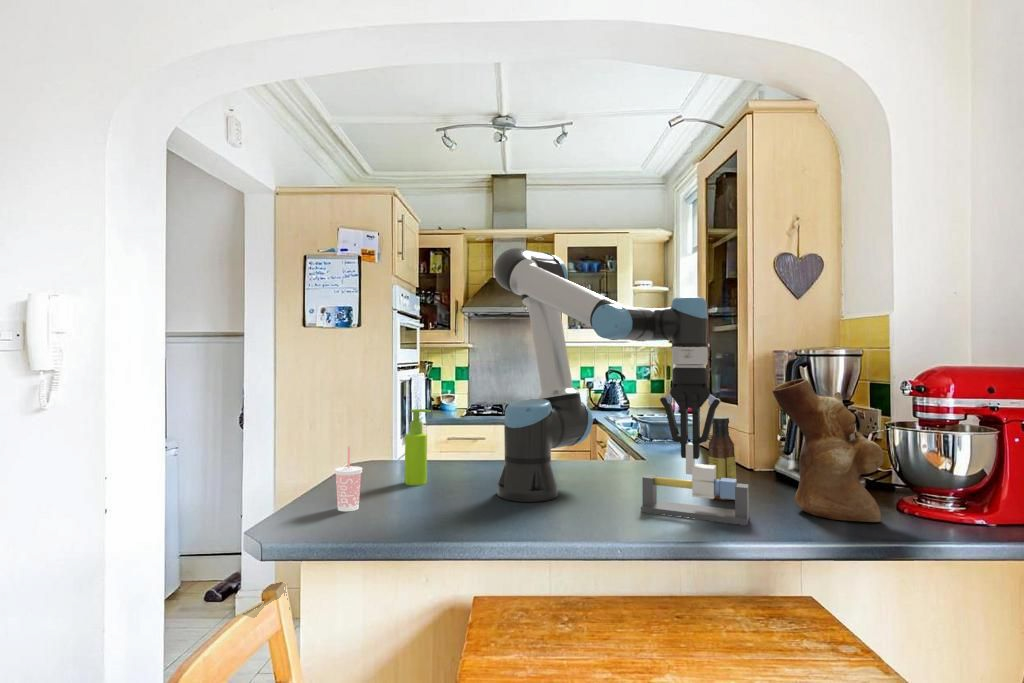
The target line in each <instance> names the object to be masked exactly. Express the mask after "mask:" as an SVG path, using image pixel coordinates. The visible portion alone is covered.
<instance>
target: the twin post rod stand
mask: <svg viewBox="0 0 1024 683" xmlns="http://www.w3.org/2000/svg"><path fill="white" fill-rule="evenodd" d="M641 482H642V483H641V484H642V489H641V490H642V504H641V506H640V513H644V512H647V513H646V514H652V513H656V514H655V515H659V514H665V515H664V516H667V515H672V516H671V517H675V516H681V517H680V518H683V517H689V518H688V519H690V518H695V519H694V520H698V519H701V520H700V521H706V520H709V521H708V522H714V521H717V522H716V523H722V522H724V523H723V524H729V523H731V524H732V525H737V524H740V525H739V526H745V525H747V526H748V523H749V519H750V509H749V507H750V506H749V504H750V503H749V498H750V496H749V495H750V494H749V492H750V490H749V489H750V487H749V484H748V483H747V484H746V483H738V482H737V478H736V479H730V478H721V480H720V479H715V483H714V494H715V495H718V496H720V498H725V499H734V502H735V503H734V509H731V508H723V507H715V506H706V505H705V506H704V505H697V504H689V503H680V502H674V501H673V502H670V501H665V500H664V501H663V500H657V498H658V497H657V495H658V494H657V492H658V490H657V488H658V487H657V486H662V487H663V486H664V487H671V488H679V489H690V490H692V479H691V480H690V479H689V480H688V479H682V478H681V479H680V478H669V477H661V476H659V477H658V476H657V475H656V474H655V475H654V474H647V473H646V474H645V475H643V476H642V481H641Z"/></svg>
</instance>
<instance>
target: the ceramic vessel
mask: <svg viewBox="0 0 1024 683" xmlns="http://www.w3.org/2000/svg"><path fill="white" fill-rule="evenodd" d="M771 391H772V393H773V396H774V397H775V400H776V402H777V403H778V406H779V407H780V408H781V410H782V411H783V412H784V413H785V414H786V416H787V417H789V419H790V420H791V421H792V422H793V423H794V424H795V425H796V426H797V428H799V430H800V431H801V433H802V434H803V437H804V442H803V445H802V448H801V451H800V452H801V453H800V455H799V457H798V460H799V465H798V466H799V467H798V470H799V471H798V472H799V482H798V488H797V490H796V493H795V495H794V502H795V503H796V504H797V505H798V506H799V507H800V509H801V510H802V511H804V512H805V513H807V514H810V515H812V516H816V517H819V518H825V519H829V520H836V521H838V520H839V521H847V522H848V521H849V522H866V523H870V522H871V523H879V522H881V521H882V514H881V510H880V507H879V504H878V503H877V501H876V499H875V498H874V497H873V496H872V494H871V493H870V492H869V491H868V489H866V488H865V486H864V485H863V483H862V482H861V479H860V477H861V475H866V474H870V473H874V472H876V471H877V470H878V469H879V468H880V467H881V466H882V465H883V463H884V461H885V453H884V450H883V449H882V447H881V445H879V444H878V443H876V442H875V441H872V440H870V439H868V438H867V437H865V436H864V435H863V434H862V433H861V432H859V431H855V430H856V424H855V423H856V420H857V418H856V415H855V414H854V413H853V412H851V410H850V409H849V408H847V406H845V405H844V403H843V396H842V394H841V392H840V391H836V392H835V393H834V395H833V396H822V395H817V394H816V393H815V391H814V390H813V388H812V385H811V383H810V382H809V380H808V379H807V378H798V379H793V380H790V381H789V380H788V381H786V382H783V383H780V384H778V385H776V386H774V387H773V388H772V389H771ZM850 435H854V438H853V439H850V440H847V437H849V436H850Z"/></svg>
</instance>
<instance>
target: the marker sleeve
mask: <svg viewBox="0 0 1024 683" xmlns="http://www.w3.org/2000/svg"><path fill="white" fill-rule="evenodd" d="M691 478H692V479H691V480H692V489H691V490H692V491H691V492H692V493H691V496H692V497H693V498H702V499H711V500H714V499H715V496H716V495H715V494H714V483H715V479H716V465H709V464H702V463H695V465H694V466H693V467H692V476H691Z"/></svg>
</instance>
